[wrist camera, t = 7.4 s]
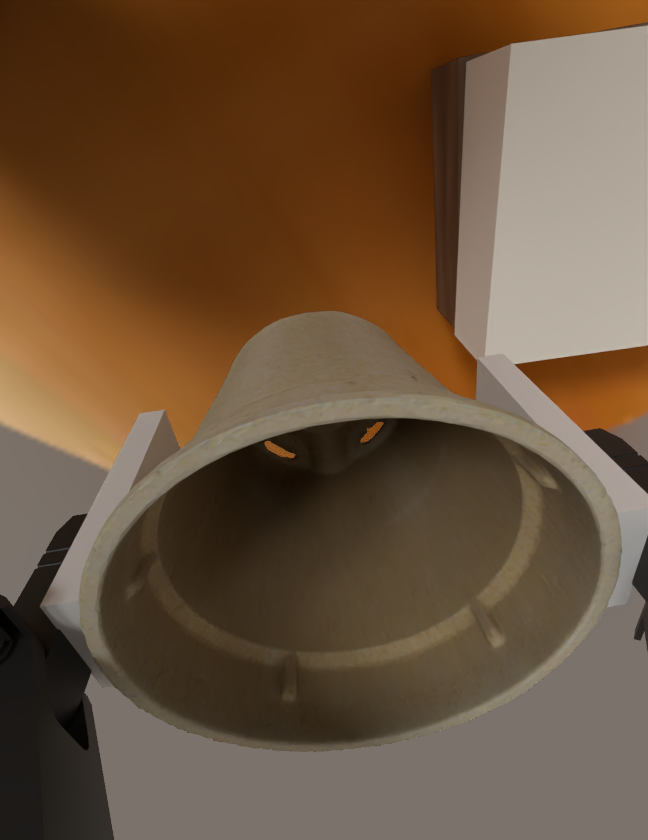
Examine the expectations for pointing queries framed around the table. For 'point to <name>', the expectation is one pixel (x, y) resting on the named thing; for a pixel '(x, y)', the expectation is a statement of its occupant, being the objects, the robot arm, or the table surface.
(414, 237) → the table surface
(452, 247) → the tower base
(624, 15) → the table surface
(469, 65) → the tower top
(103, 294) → the table surface
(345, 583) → the flower pot
